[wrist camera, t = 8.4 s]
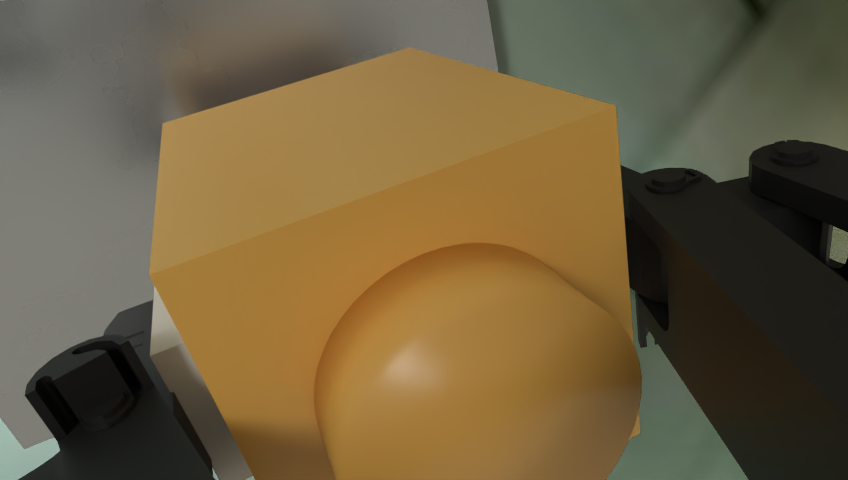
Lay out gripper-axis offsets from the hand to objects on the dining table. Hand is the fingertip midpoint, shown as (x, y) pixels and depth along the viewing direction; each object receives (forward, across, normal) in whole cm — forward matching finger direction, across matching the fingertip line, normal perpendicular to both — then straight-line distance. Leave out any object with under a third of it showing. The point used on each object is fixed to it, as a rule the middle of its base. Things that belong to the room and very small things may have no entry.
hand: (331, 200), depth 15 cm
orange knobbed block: (0, 0, 0) cm, 0 cm away
